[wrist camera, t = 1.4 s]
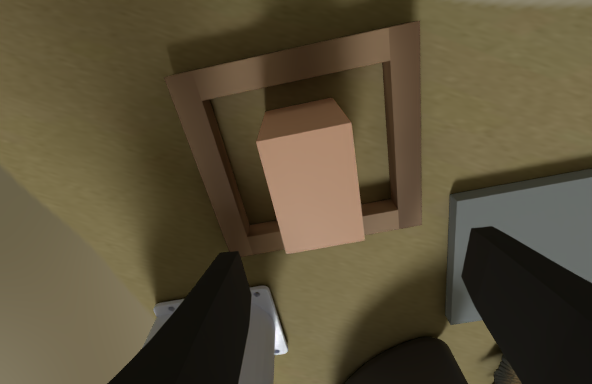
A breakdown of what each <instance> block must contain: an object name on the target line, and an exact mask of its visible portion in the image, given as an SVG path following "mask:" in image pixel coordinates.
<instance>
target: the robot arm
mask: <svg viewBox="0 0 592 384" xmlns="http://www.w3.org/2000/svg"><path fill="white" fill-rule="evenodd" d="M461 277H462V280H463V282H464V284H465V287H466V289H467V291H468V293H469V296H470V298H471V300H472V302H473V304H474V306H475V308H476V310H477V311H478V313H479V315H480V317H481V318H482V320H483V321H484V323H485V325H486V326H487V328H488V330H489V331H490V333H491V335H492V336H493V338H494V339H495V341H496V343H497V344H498V346H499V348H500V349H501V351H502V352H503V354H504V356H505V357H506V359H507V360H508V362H509V364H510V365H511V367H512V369H513V370H514V372H515V373H516V375H517V377H518V378H519V380H520V381H521V383H522V384H592V283H591V282H589V281H587V280H585V279H584V278H582V277H580V276H578V275H576V274H575V273H573V272H571V271H569V270H567V269H566V268H564V267H562V266H560V265H559V264H557V263H555V262H554V261H552V260H550V259H548V258H547V257H545V256H543V255H542V254H540V253H538V252H536V251H535V250H533V249H531V248H530V247H528V246H526V245H525V244H523V243H521V242H519V241H518V240H516V239H514V238H513V237H511V236H509V235H507V234H506V233H504V232H502V231H500V230H498V229H497V228H495V227H493V226H489V227H478V228H471V231H470V236H469V241H468V246H467V251H466V256H465V260H464V265H463V270H462V275H461ZM255 292H258V293H255ZM153 310H154V312H155V314H156V316H157V318H156V320H155V322H154V324H153V326H152V329H151V331H150V333H149V335H148V337H147V339H146V341H145V343H144V346H143V348H142V349H141V350H140V351H139V353H138V354H137V355H136V356H135V357H134V358H133V359H132V360H131V361H130V362H129V363H128V364H127V365H126V366H125V367H124V368H123V369H122V370H121V371H120V372H119V373H118V374H117V375H116V376H115V377H114V378H113V379H112V380H111V381H110V382H109V383H108V384H273V379H274V355H279V354H284V353H286V352H287V351H288V345H287V342H286V339H285V336H284V333H283V330H282V326H281V323H280V320H279V317H278V314H277V311H276V308H275V305H274V302H273V299H272V296H271V292H270V289H269V288H268V287H267V286H256V287H251V288H249V284H248V281H247V278H246V274H245V271H244V267H243V264H242V261H241V257H240V254H239V251H233V252H223V253H219V255H218V256H217V257H216V258H215V260H214V261H213V262H212V264H211V265H210V266H209V268H208V269H207V270H206V272H205V273H204V274H203V276H202V277H201V278H200V280H199V281H198V282H197V284H196V285H195V286H194V288H193V289H192V290H191V291H190V293H189V294H188V295H187V297H186V298H185V299H180V300H174V301H168V302H162V303H158V304H156V305H155V307H154V309H153Z"/></svg>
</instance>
